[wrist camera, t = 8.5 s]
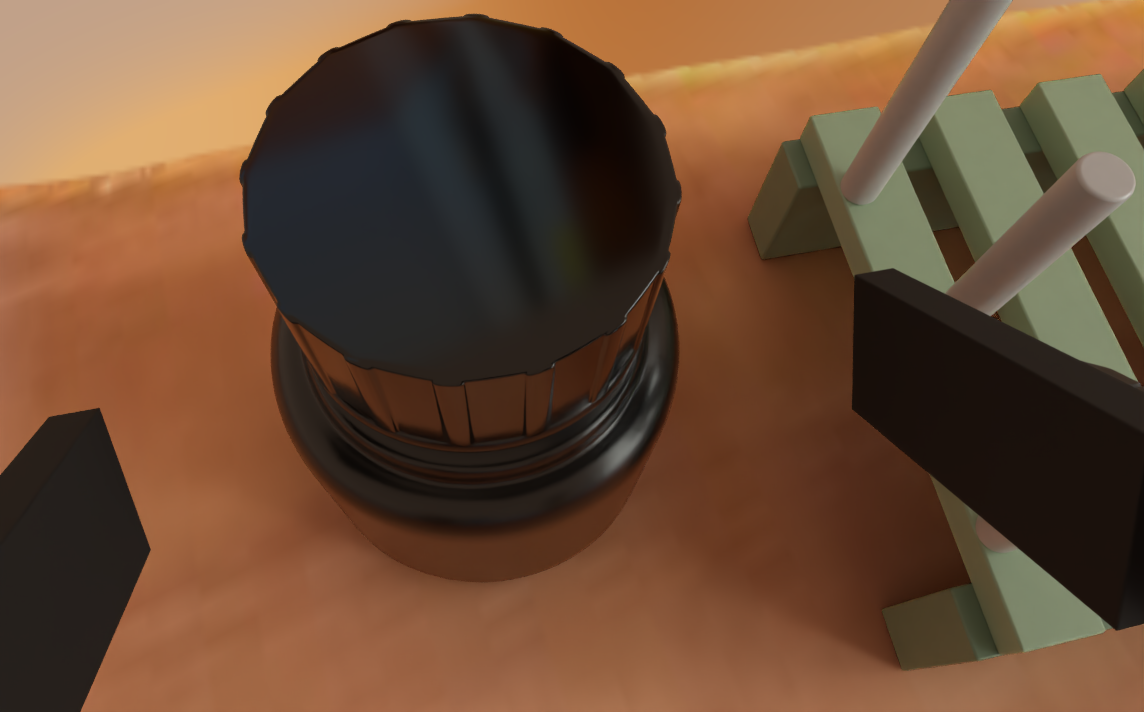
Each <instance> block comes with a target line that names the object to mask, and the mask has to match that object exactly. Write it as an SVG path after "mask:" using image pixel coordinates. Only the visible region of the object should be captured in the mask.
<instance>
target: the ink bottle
mask: <svg viewBox="0 0 1144 712" xmlns="http://www.w3.org/2000/svg"><path fill="white" fill-rule="evenodd" d="M624 78H625V77H624V74H623V73H622V72H621V70H619V69H618V68H617V67H616V66H615V65H613V64H612V63H610V62H604V61H603V60H601V59H599V58H598V57H596V56H594V55H593V54H591V53H589V52H588V51H586V50H584V49H583V48H581V47H579V46H577V45H575V44H574V43H572V42H570V41H568V40H567V39H565V38H563V36H562V35H561V34H560V33H558V32H556V31H554V30H552V29H549V28H543V27H542V28H535V27H531V26H526V25H522V24H517V23H513V22H508V21H503V20H498V19H493V18H489V17H488V16H486V15H482V14H466V15H464V16H463V17H462V16H461V17H449V18H438V19H427V20H418V21H411V20H401V21H397V22H394V23H391V24H389V25H388V26H387V27H386V28H384V29H382V30H379V31H377V32H375V33H372V34H370V35H367V36H365V37H362V38H360V39H358V40H355V41H353V42H351V43H349V44H347V45H344V46H342V47H335V48H332V49H330V50H328V51H327V52H325V53H324V54H322V55H321V56H320V57H319V58H318V62H317V63H316V64H315V65H314V66H312V67H311V68H310V69H309V70H308V71H307V72H306V73H304V74H303V75H302V76H301V77H300V78H299V79H298V80H297V81H296V82H295V83H294V84H293V85H292V86H291V87H289V88H288V89H287V90H286V91H285V92H284V93H283V94H282V95H279V96H277V97H276V98H275V99H274V100H273V101H272V102H271V103H270V105H269V107H268V108H267V110H266V118H265V120H264V122H263V125H262V127H261V129H260V131H259V133H258V135H257V138H256V140H255V142H254V144H253V147H252V149H251V152H250V154H249V156H248V159H247V160H245V161H244V162H243V164H242V166H241V170H240V177H239V179H240V183H241V185H242V187H243V217H244V230H245V231H244V233H243V234H242V242H243V246H244V249H245V252H246V254H247V256H248V257H249V259H250V261H251V263H252V264H253V266H254V268H255V270H256V271H257V273H258V275H259V277H260V278H261V280H262V282H263V284H264V285H265V287H266V289H267V291H268V292H269V294H270V296H271V297H272V299H273V301H274V303H275V304H276V306H277V308H276V312H275V317H274V322H273V328H272V337H271V372H272V380H273V386H274V392H275V396H276V401H277V404H278V408H279V411H280V414H281V417H282V420H283V423H284V425H285V428H286V430H287V432H288V434H289V436H290V439H291V441H292V443H293V444H294V446H295V448H296V450H297V452H298V453H299V455H300V456H301V458H302V460H303V461H304V463H305V464H306V465H307V467H308V468H309V470H310V471H311V472H312V474H313V475H314V476H315V477H316V478H317V480H318V481H319V482H320V483H321V485H322V486H323V487H324V488H325V490H326V491H327V492H328V493H329V494H330V496H331V497H332V498H333V499H334V501H335V502H336V503H337V504H338V505H339V507H340V508H341V509H342V510H343V512H344V513H345V514H346V515H347V516H348V518H349V519H350V520H351V521H352V523H353V524H354V525H355V526H356V528H357V529H358V530H359V531H360V532H361V533H362V534H363V535H364V536H365V537H366V538H367V539H368V540H369V541H370V542H371V543H372V544H373V545H375V546H376V547H377V548H378V549H380V550H381V551H382V552H384V553H385V554H387V555H388V556H389V557H391V558H393V559H394V560H396V561H398V562H400V563H402V564H404V565H406V566H408V567H410V568H412V569H415V570H417V571H420V572H423V573H426V574H429V575H432V576H436V577H440V578H445V579H450V580H457V581H466V582H496V581H505V580H511V579H517V578H521V577H525V576H529V575H532V574H536V573H539V572H542V571H544V570H547V569H549V568H552V567H554V566H556V565H559V564H561V563H562V562H564V561H566V560H568V559H570V558H572V557H573V556H575V555H576V554H578V553H580V552H581V551H582V550H584V549H585V548H587V547H588V546H589V545H590V544H592V543H593V542H594V541H595V540H596V539H597V538H598V537H600V536H601V535H602V534H603V533H604V532H605V531H606V529H607V528H608V527H609V526H610V525H611V524H612V523H613V521H614V520H615V519H616V517H617V516H618V515H619V513H620V512H621V510H622V509H623V507H624V505H625V504H626V502H627V500H628V498H629V496H630V495H631V493H632V491H633V489H634V487H635V485H636V483H637V481H638V479H639V477H640V475H641V473H642V471H643V469H644V467H645V465H646V463H647V461H648V459H649V457H650V455H651V453H652V451H653V449H654V447H655V445H656V443H657V441H658V439H659V436H660V434H661V432H662V430H663V428H664V425H665V423H666V420H667V417H668V414H669V412H670V408H671V405H672V402H673V398H674V393H675V389H676V383H677V377H678V368H679V333H678V324H677V318H676V313H675V308H674V304H673V301H672V297H671V294H670V291H669V288H668V285H667V283H666V280H665V278H664V274H665V271H666V268H667V265H668V262H669V259H670V252H669V246H670V242H671V238H672V233H673V228H674V223H675V218H676V215H677V212H678V209H679V206H680V203H681V197H682V191H681V184H680V182H679V181H678V180H677V179H676V175H675V171H674V167H673V163H672V159H671V156H670V152H669V148H668V145H667V142H666V139H665V137H666V130H665V127H664V125H663V123H662V121H661V119H660V118H659V117H658V116H657V115H655V114H653V113H652V112H651V110H650V109H649V108H648V106H647V105H646V104H645V103H644V101H643V100H642V99H641V98H640V96H639V95H638V94H637V93H636V92H635V90H634V89H633V88H632V87H631V86H630V84H629V83H628V82H627V81H626V80H625V79H624Z"/></svg>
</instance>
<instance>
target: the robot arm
mask: <svg viewBox="0 0 1144 712" xmlns="http://www.w3.org/2000/svg"><path fill="white" fill-rule="evenodd" d="M852 410H854V411H855V412H856V413H857V414H858V415H860V416H861V417H862V418H863V419H864V420H866V421H867V422H868V423H869V424H870V425H872V426H873V427H874V428H875V429H876V430H878V431H879V432H880V433H881V434H882V435H883V436H885V437H886V438H887V439H888V440H889V441H891V442H892V443H893V444H894V445H895V446H897V447H898V448H899V449H900V450H901V451H903V452H904V453H905V454H906V455H907V456H909V457H910V458H911V459H912V460H913V461H915V462H916V463H917V464H918V465H919V466H920V467H922V468H923V469H924V470H925V471H926V472H928V473H929V474H930V475H931V476H932V477H934V478H935V479H936V480H937V481H938V482H940V483H941V484H942V485H943V486H944V487H946V488H947V489H948V490H949V491H950V492H951V493H953V494H954V495H955V496H956V497H957V498H959V499H960V500H961V501H962V502H963V503H965V504H966V505H967V506H968V507H969V508H971V509H972V510H973V511H974V512H975V513H977V514H978V515H979V516H980V517H981V518H983V519H984V520H985V521H986V522H987V523H988V524H990V525H991V526H992V527H993V528H994V529H996V530H997V531H998V532H999V533H1000V534H1002V535H1003V536H1004V537H1005V538H1006V539H1008V540H1009V541H1010V542H1011V543H1012V544H1014V545H1015V546H1016V547H1017V548H1018V549H1019V550H1021V551H1022V552H1023V553H1024V554H1025V555H1027V556H1028V557H1029V558H1030V559H1031V560H1033V561H1034V562H1035V563H1036V564H1037V565H1039V566H1040V567H1041V568H1042V569H1043V570H1045V571H1046V572H1047V573H1048V574H1049V575H1050V576H1052V577H1053V578H1054V579H1055V580H1056V581H1058V582H1059V583H1060V584H1061V585H1062V586H1064V587H1065V588H1066V589H1067V590H1068V591H1070V592H1071V593H1072V594H1073V595H1074V596H1076V597H1077V598H1078V599H1079V600H1080V601H1082V602H1083V603H1084V604H1085V605H1086V606H1087V607H1089V608H1090V609H1091V610H1092V611H1093V612H1095V613H1096V614H1097V615H1098V616H1099V617H1101V618H1102V619H1103V620H1104V621H1105V622H1107V623H1108V624H1109V625H1110V626H1111V627H1113V628H1114V629H1115V630H1116V631H1117V630H1121V629H1125V628H1129V627H1133V626H1137V625H1141V624H1144V386H1143V387H1141V383H1139V382H1137V381H1135V380H1133V379H1131V378H1129V377H1127V376H1125V375H1123V374H1121V373H1119V372H1117V371H1115V370H1113V369H1110V368H1107V367H1103V366H1099V365H1095V364H1092V363H1088V362H1084V361H1081V360H1078V359H1076V358H1074V357H1072V356H1070V355H1068V354H1066V353H1064V352H1062V351H1060V350H1058V349H1056V348H1054V347H1052V346H1050V345H1048V344H1046V343H1044V342H1042V341H1040V340H1038V339H1036V338H1034V337H1032V336H1030V335H1028V334H1026V333H1024V332H1022V331H1020V330H1018V329H1015V328H1013V327H1011V326H1009V325H1007V324H1005V323H1003V322H1001V321H999V320H997V319H995V318H993V317H991V316H989V315H987V314H985V313H983V312H981V311H979V310H977V309H975V308H973V307H971V306H969V305H967V304H965V303H963V302H961V301H959V300H957V299H955V298H953V297H951V296H949V295H947V294H945V293H943V292H941V291H939V290H937V289H935V288H933V287H930V286H928V285H926V284H924V283H922V282H920V281H918V280H916V279H914V278H912V277H910V276H908V275H906V274H904V273H902V272H900V271H898V270H896V269H894V268H890V269H885V270H879V271H873V272H868V273H862V274H856V275H855V281H854V333H853V385H852ZM150 550H151V549H150V546H149V544H148V541H147V538H146V535H145V533H144V530H143V527H142V524H141V522H140V519H139V516H138V513H137V510H136V508H135V505H134V502H133V499H132V497H131V494H130V491H129V488H128V486H127V483H126V480H125V477H124V474H123V472H122V469H121V466H120V463H119V461H118V458H117V455H116V452H115V450H114V447H113V444H112V441H111V438H110V436H109V433H108V430H107V427H106V425H105V422H104V419H103V416H102V414H101V411H100V408H97V409H91V410H85V411H80V412H74V413H68V414H63V415H57V416H51V417H49V418H48V419H47V420H46V421H45V422H44V424H43V425H42V426H41V427H40V428H39V430H38V431H37V432H36V433H35V434H34V436H33V437H32V438H31V439H30V440H29V442H28V443H27V444H26V445H25V446H24V448H23V449H22V450H21V451H20V452H19V454H18V455H17V456H16V457H15V458H14V460H13V461H12V462H11V463H10V464H9V466H8V467H7V468H6V469H5V470H4V472H3V473H2V474H1V475H0V712H80V711H81V709H82V707H83V704H84V702H85V700H86V697H87V695H88V693H89V691H90V688H91V686H92V684H93V681H94V679H95V677H96V674H97V672H98V670H99V668H100V665H101V663H102V661H103V658H104V656H105V654H106V651H107V649H108V647H109V645H110V642H111V640H112V638H113V635H114V633H115V631H116V629H117V626H118V624H119V622H120V619H121V617H122V615H123V612H124V610H125V608H126V606H127V603H128V601H129V599H130V596H131V594H132V592H133V589H134V587H135V585H136V583H137V580H138V578H139V576H140V573H141V571H142V569H143V566H144V564H145V562H146V560H147V557H148V555H149V553H150Z"/></svg>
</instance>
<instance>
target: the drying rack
mask: <svg viewBox="0 0 1144 712" xmlns="http://www.w3.org/2000/svg"><path fill="white" fill-rule="evenodd" d="M1012 1H1013V0H949V2H948V4H947V5H946V7H945V9H944V10H943V12H942V14H941V15H940V17H939V19H938V20H937V22H936V24H935V25H934V27H933V29H932V30H931V32H930V34H929V35H928V37H927V39H926V40H925V42H924V44H923V45H922V47H921V48H920V50H919V52H918V53H917V55H916V57H915V58H914V60H913V62H912V63H911V65H910V67H909V68H908V70H907V72H906V73H905V75H904V77H903V78H902V80H901V82H900V83H899V85H898V87H897V88H896V90H895V92H894V93H893V95H892V97H891V98H890V100H889V102H888V103H887V105H886V107H885V108H884V110H883V112H882V113H881V112H880V110H879V108H878V107H870V108H863V109H856V110H849V111H842V112H835V113H828V114H821V115H814V116H811V117H810V118H809V120H808V122H807V124H806V126H805V128H804V130H803V133H802V135H801V137H800V139H798V140H792V141H785V142H783V143H782V144H781V146H780V148H779V150H778V153H777V155H776V157H775V159H774V161H773V163H772V166H771V168H770V170H769V172H768V174H767V177H766V179H765V181H764V183H763V185H762V187H761V190H760V192H759V194H758V196H757V198H756V200H755V203H754V205H753V207H752V209H751V211H750V213H749V216H748V222H749V225H750V228H751V231H752V233H753V236H754V239H755V242H756V245H757V248H758V251H759V254H760V257H761V259H763V260H764V259H770V258H776V257H782V256H788V255H794V254H800V253H806V252H812V251H817V250H823V249H829V248H835V247H841V246H842V249H843V252H844V254H845V257H846V259H847V262H848V265H849V267H850V270H851V272H852V275H853V277H854V280H855V275H856V274H862V273H868V272H873V271H879V270H885V269H890V268H894V269H896V270H898V271H900V272H902V273H904V274H906V275H908V276H910V277H912V278H914V279H916V280H918V281H920V282H922V283H924V284H926V285H928V286H930V287H933V288H935V289H937V290H939V291H941V292H943V293H945V294H947V295H949V296H951V297H953V298H955V299H957V300H959V301H961V302H963V303H965V304H967V305H969V306H971V307H973V308H975V309H977V310H979V311H981V312H983V313H985V314H987V315H989V316H991V315H993V314H994V313H995V312H996V311H997V312H998V315H999V317H1000V319H1001V321H1002V322H1003V323H1005V324H1007V325H1009V326H1011V327H1013V328H1015V329H1018V330H1020V331H1022V332H1024V333H1026V334H1028V335H1030V336H1032V337H1034V338H1036V339H1038V340H1040V341H1042V342H1044V343H1046V344H1048V345H1050V346H1052V347H1054V348H1056V349H1058V350H1060V351H1062V352H1064V353H1066V354H1068V355H1070V356H1072V357H1074V358H1076V359H1078V360H1081V361H1084V362H1088V363H1092V364H1095V365H1099V366H1103V367H1107V368H1110V369H1113V370H1115V371H1117V372H1119V373H1121V374H1123V375H1125V376H1127V377H1129V378H1131V379H1133V380H1135V381H1137V379H1136V377H1135V375H1134V373H1133V371H1132V369H1131V367H1130V365H1129V363H1128V361H1127V359H1126V357H1125V355H1124V353H1123V351H1122V349H1121V347H1120V345H1119V343H1118V341H1117V339H1116V337H1115V335H1114V333H1113V331H1112V329H1111V327H1110V325H1109V323H1108V321H1107V319H1106V317H1105V315H1104V313H1103V311H1102V309H1101V307H1100V305H1099V303H1098V301H1097V299H1096V297H1095V295H1094V293H1093V291H1092V289H1091V287H1090V285H1089V283H1088V281H1087V279H1086V277H1085V275H1084V273H1083V271H1082V269H1081V267H1080V265H1079V263H1078V261H1077V259H1076V257H1075V255H1074V253H1073V251H1072V249H1071V247H1072V246H1073V245H1075V244H1076V243H1077V242H1078V241H1079V240H1081V239H1082V238H1083V237H1084V236H1085V235H1086V237H1087V238H1088V240H1089V242H1090V244H1091V246H1092V248H1093V250H1094V252H1095V254H1096V256H1097V258H1098V260H1099V262H1100V264H1101V266H1102V268H1103V270H1104V272H1105V274H1106V276H1107V277H1108V279H1109V281H1110V283H1111V285H1112V287H1113V289H1114V291H1115V293H1116V295H1117V297H1118V299H1119V301H1120V303H1121V305H1122V307H1123V309H1124V311H1125V313H1126V315H1127V317H1128V318H1129V320H1130V322H1131V324H1132V326H1133V328H1134V330H1135V332H1136V334H1137V336H1138V338H1139V340H1140V342H1141V344H1142V346H1143V348H1144V69H1143V70H1142V71H1141V72H1140V74H1139V75H1138V76H1137V77H1136V78H1135V79H1134V80H1133V81H1132V82H1131V83H1130V84H1129V85H1128V86H1127V87H1126V88H1125V89H1124V91H1122V92H1116V93H1111V91H1110V89H1109V88H1108V86H1107V84H1106V82H1105V81H1104V79H1103V77H1102V75H1101V74H1096V75H1089V76H1082V77H1075V78H1068V79H1061V80H1054V81H1047V82H1040V83H1038V84H1037V85H1036V86H1035V87H1034V88H1033V90H1032V91H1031V92H1030V93H1029V95H1028V96H1027V97H1026V98H1025V99H1024V101H1023V102H1022V103H1021V104H1020V107H1014V108H1008V109H1001V108H1000V106H999V104H998V102H997V100H996V98H995V96H994V94H993V92H992V90H986V91H979V92H972V93H965V94H958V95H951V96H947V95H948V94H949V92H950V91H951V89H952V88H953V86H954V85H955V84H956V82H957V81H958V79H959V78H960V76H961V75H962V73H963V72H964V70H965V69H966V68H967V66H968V65H969V63H970V62H971V60H972V59H973V57H974V56H975V54H976V53H977V52H978V50H979V49H980V47H981V46H982V44H983V43H984V41H985V40H986V39H987V37H988V36H989V34H990V33H991V31H992V30H993V28H994V27H995V25H996V24H997V23H998V21H999V20H1000V18H1001V17H1002V15H1003V14H1004V12H1005V11H1006V10H1007V8H1008V7H1009V5H1010V4H1011V2H1012ZM955 227H959V228H960V230H961V232H962V235H963V237H964V239H965V241H966V243H967V246H968V248H969V250H970V252H971V255H972V257H973V259H974V261H975V263H974V264H973V265H972V266H971V267H970V268H969V269H968V270H967V271H966V272H965V273H964V274H963V275H962V276H961V277H960V278H959V279H958V280H957V281H956V282H954V280H953V278H952V276H951V273H950V271H949V269H948V266H947V264H946V262H945V259H944V257H943V255H942V253H941V250H940V248H939V246H938V243H937V241H936V239H935V236H934V234H933V232H932V231H937V230H943V229H949V228H955ZM1137 382H1138V381H1137ZM930 477H931V479H932V482H933V485H934V487H935V490H936V492H937V495H938V498H939V500H940V503H941V505H942V508H943V511H944V513H945V516H946V518H947V521H948V523H949V526H950V529H951V531H952V534H953V536H954V539H955V542H956V544H957V547H958V549H959V552H960V555H961V557H962V560H963V562H964V565H965V568H966V570H967V573H968V575H969V578H970V580H971V583H969V584H965V585H960V586H956V587H952V588H948V589H945V590H942V591H939V592H935V593H932V594H929V595H926V596H922V597H919V598H916V599H913V600H909V601H906V602H903V603H900V604H896V605H893V606H890V607H887V608H883V609H882V613H883V616H884V619H885V622H886V625H887V628H888V631H889V634H890V637H891V639H892V642H893V645H894V648H895V651H896V654H897V657H898V660H899V663H900V666H901V669H902V670H903V671H908V670H915V669H923V668H931V667H938V666H946V665H953V664H961V663H969V662H976V661H981V660H986V659H990V658H994V657H998V656H1002V655H1011V654H1018V653H1025V652H1029V651H1033V650H1037V649H1041V648H1045V647H1049V646H1053V645H1057V644H1062V643H1066V642H1070V641H1074V640H1078V639H1082V638H1086V637H1090V636H1094V635H1098V634H1102V633H1104V632H1105V630H1108V629H1112V628H1113V627H1111V626H1110V625H1109V624H1108V623H1107V622H1105V621H1104V620H1103V619H1102V618H1101V617H1099V616H1098V615H1097V614H1096V613H1095V612H1093V611H1092V610H1091V609H1090V608H1089V607H1087V606H1086V605H1085V604H1084V603H1083V602H1082V601H1080V600H1079V599H1078V598H1077V597H1076V596H1074V595H1073V594H1072V593H1071V592H1070V591H1068V590H1067V589H1066V588H1065V587H1064V586H1062V585H1061V584H1060V583H1059V582H1058V581H1056V580H1055V579H1054V578H1053V577H1052V576H1050V575H1049V574H1048V573H1047V572H1046V571H1045V570H1043V569H1042V568H1041V567H1040V566H1039V565H1037V564H1036V563H1035V562H1034V561H1033V560H1031V559H1030V558H1029V557H1028V556H1027V555H1025V554H1024V553H1023V552H1022V551H1021V550H1019V549H1018V548H1017V547H1016V546H1015V545H1014V544H1012V543H1011V542H1010V541H1009V540H1008V539H1006V538H1005V537H1004V536H1003V535H1002V534H1000V533H999V532H998V531H997V530H996V529H994V528H993V527H992V526H991V525H990V524H988V523H987V522H986V521H985V520H984V519H983V518H981V517H980V516H979V515H978V514H977V513H975V512H974V511H973V510H972V509H971V508H969V507H968V506H967V505H966V504H965V503H963V502H962V501H961V500H960V499H959V498H957V497H956V496H955V495H954V494H953V493H951V492H950V491H949V490H948V489H947V488H946V487H944V486H943V485H942V484H941V483H940V482H938V481H937V480H936V479H935V478H934V477H932V476H931V475H930Z"/></svg>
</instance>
